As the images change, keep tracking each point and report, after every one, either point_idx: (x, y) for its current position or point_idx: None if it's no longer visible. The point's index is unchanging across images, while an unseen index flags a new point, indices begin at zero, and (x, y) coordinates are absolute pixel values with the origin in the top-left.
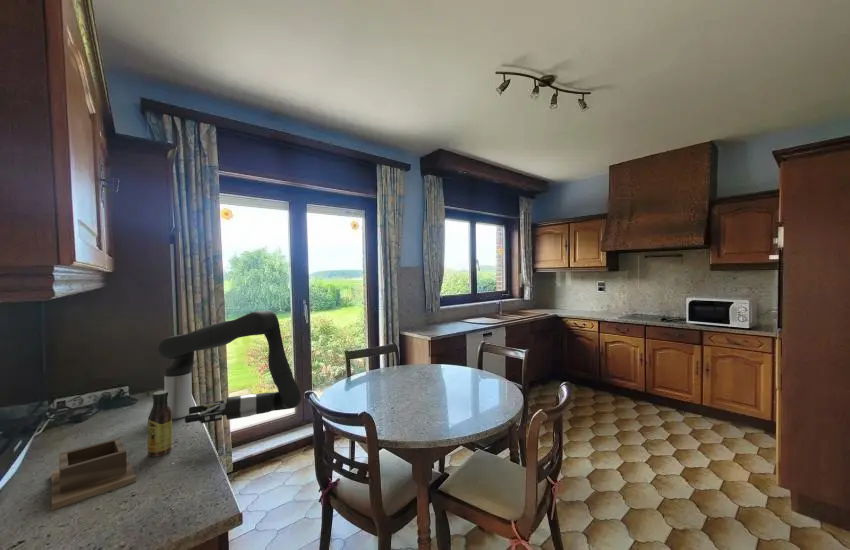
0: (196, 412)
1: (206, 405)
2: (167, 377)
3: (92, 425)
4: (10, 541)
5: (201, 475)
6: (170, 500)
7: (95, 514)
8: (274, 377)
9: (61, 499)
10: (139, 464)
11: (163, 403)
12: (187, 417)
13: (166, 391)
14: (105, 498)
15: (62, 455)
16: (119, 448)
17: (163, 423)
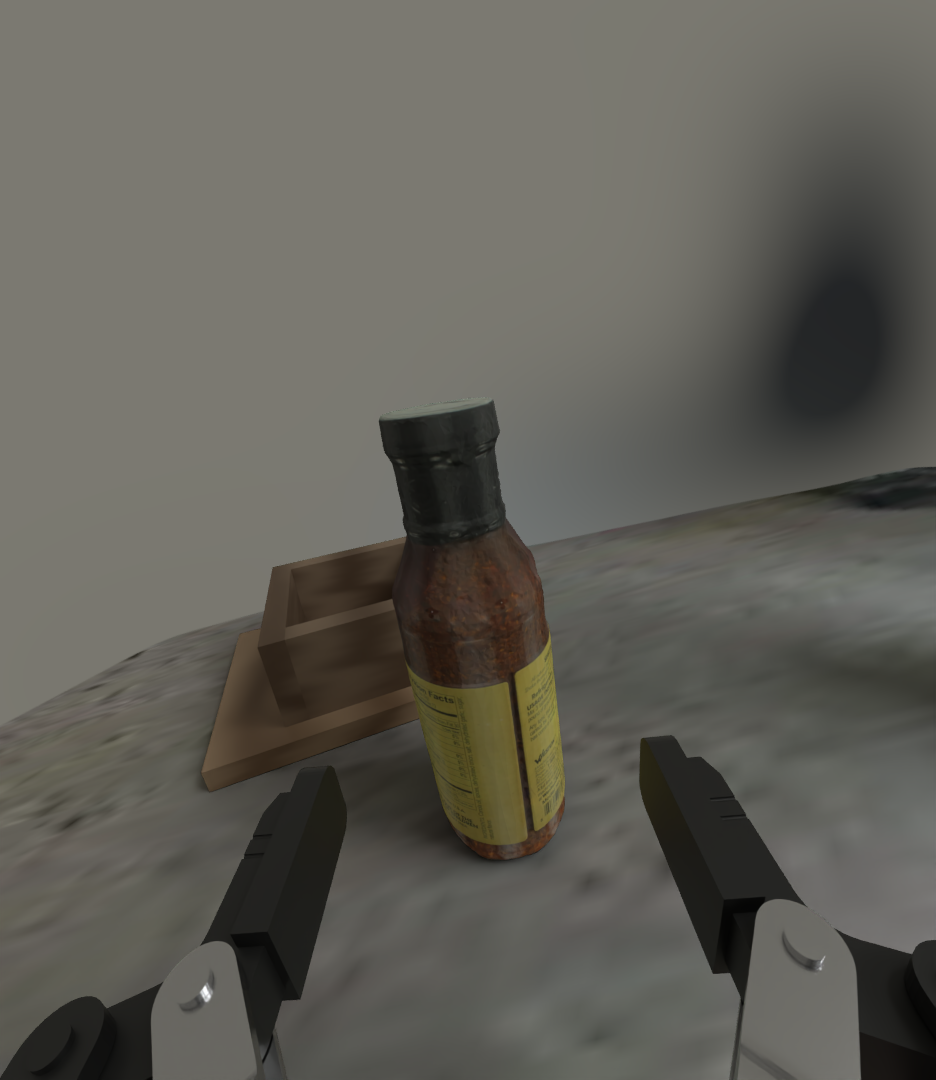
0: (678, 877)
1: (745, 1025)
2: None
3: (852, 530)
4: (162, 641)
5: None
6: None
7: (75, 745)
8: None
9: (247, 640)
10: (405, 751)
11: (407, 512)
12: (288, 795)
13: (438, 409)
14: (171, 735)
15: (397, 540)
16: (325, 619)
17: (408, 662)
